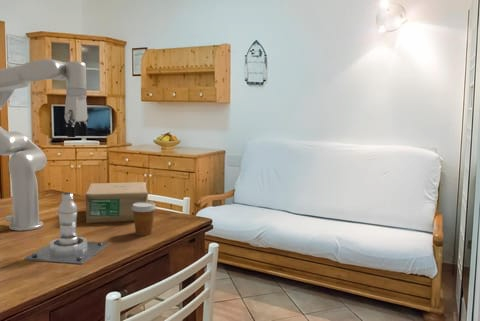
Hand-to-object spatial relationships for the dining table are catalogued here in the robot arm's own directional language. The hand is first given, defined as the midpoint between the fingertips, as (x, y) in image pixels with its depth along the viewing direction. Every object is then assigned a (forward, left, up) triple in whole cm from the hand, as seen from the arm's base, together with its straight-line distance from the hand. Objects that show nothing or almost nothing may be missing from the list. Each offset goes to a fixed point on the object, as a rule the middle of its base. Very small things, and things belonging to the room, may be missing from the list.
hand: (77, 136), depth 171 cm
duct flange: (+10, -27, -38) cm, 48 cm away
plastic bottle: (+10, -27, -38) cm, 48 cm away
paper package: (+7, +24, -39) cm, 46 cm away
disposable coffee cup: (+28, -1, -38) cm, 48 cm away
